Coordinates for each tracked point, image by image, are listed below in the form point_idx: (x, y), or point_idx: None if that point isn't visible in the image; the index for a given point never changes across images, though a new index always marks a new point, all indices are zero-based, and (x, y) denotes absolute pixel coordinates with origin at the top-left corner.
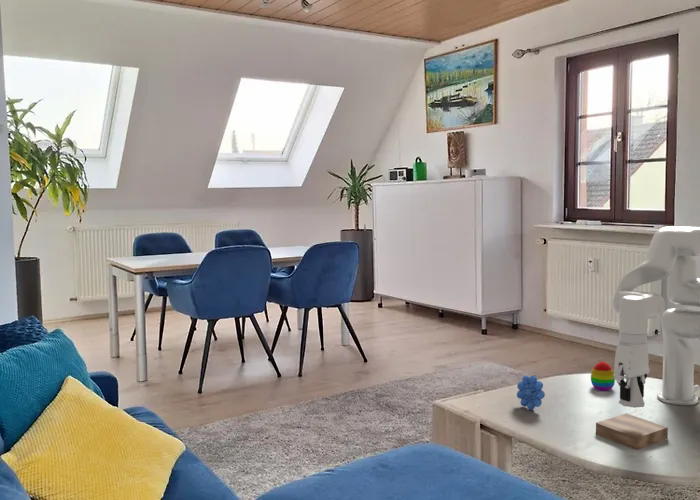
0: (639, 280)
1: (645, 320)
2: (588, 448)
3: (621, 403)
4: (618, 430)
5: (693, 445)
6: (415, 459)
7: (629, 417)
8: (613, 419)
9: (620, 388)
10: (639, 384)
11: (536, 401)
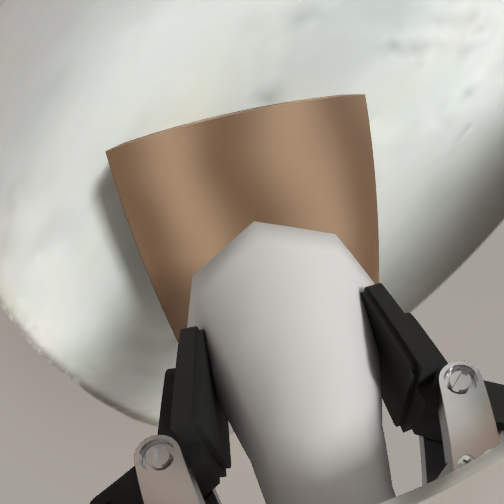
0: None
1: None
2: (37, 258)
3: (191, 312)
4: (155, 273)
5: None
6: None
7: (334, 148)
8: (228, 139)
9: (174, 406)
10: (403, 414)
11: None
